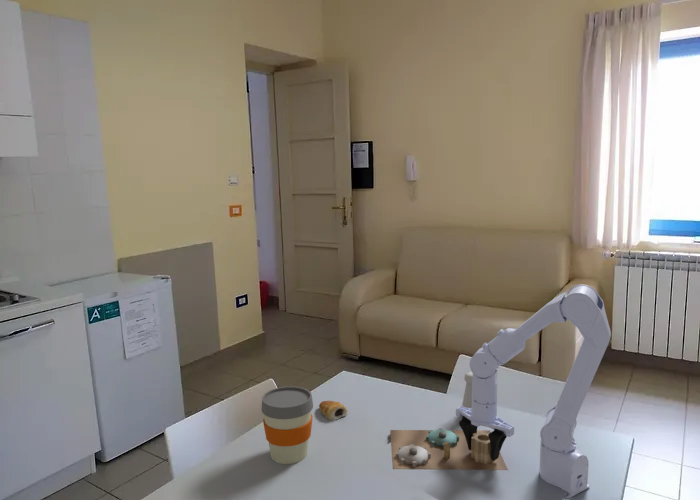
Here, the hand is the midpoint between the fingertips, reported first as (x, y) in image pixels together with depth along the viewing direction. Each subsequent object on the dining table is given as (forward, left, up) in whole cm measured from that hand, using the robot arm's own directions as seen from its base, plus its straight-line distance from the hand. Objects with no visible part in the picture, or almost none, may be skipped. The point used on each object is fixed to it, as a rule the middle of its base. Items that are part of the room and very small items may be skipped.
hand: (483, 453), depth 121 cm
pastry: (+42, +18, -3) cm, 45 cm away
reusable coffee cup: (+29, +37, -2) cm, 47 cm away
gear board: (+8, +5, -2) cm, 10 cm away
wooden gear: (0, 0, -1) cm, 1 cm away
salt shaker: (+18, -14, -2) cm, 23 cm away
